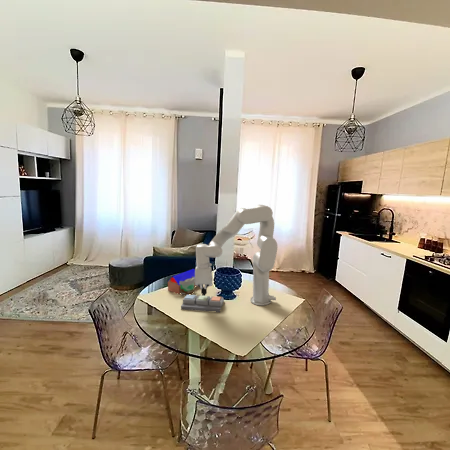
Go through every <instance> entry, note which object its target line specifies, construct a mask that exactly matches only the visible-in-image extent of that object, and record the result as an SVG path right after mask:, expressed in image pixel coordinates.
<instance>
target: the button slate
mask: <svg viewBox="0 0 450 450" xmlns="http://www.w3.org/2000/svg"><path fill="white" fill-rule="evenodd" d="M195 295H196V294H192V295H187V296H186V297H185V296H184V297H185V299H190V300H194V298H195Z"/></svg>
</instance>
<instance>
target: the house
mask: <svg viewBox="0 0 450 450" xmlns="http://www.w3.org/2000/svg"><path fill="white" fill-rule="evenodd" d="M192 276H193V277H194V278H195V268H192V269H189V270H186V271H184V272H180V273H178V274H175V275H172V276H170V278H169V279H168V280H167V291H169V292H172V293H174V292H175V294H177V293H178V294H177V295H181V294H180V293H181V287H180V284H179V283H180V281H184V280H186V279H190V278H192ZM195 286H196V285H195V282H194V287H195ZM195 288H196V287H195Z"/></svg>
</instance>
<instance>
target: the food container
mask: <svg viewBox="0 0 450 450" xmlns="http://www.w3.org/2000/svg"><path fill="white" fill-rule="evenodd" d="M194 282H195V278H194V277H193V276H192V278H190V279H186V280H184V281H180V283H179V284H180V287H181V294H182V295H181V294H180V295H181V296H184V295H189V294H192V293H193V292H194V293H195V288H194ZM194 293H193V294H194ZM193 294H192V295H193Z"/></svg>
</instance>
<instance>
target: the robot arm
mask: <svg viewBox="0 0 450 450" xmlns="http://www.w3.org/2000/svg"><path fill="white" fill-rule="evenodd" d="M257 223H259V230H258V236H257V242H256V244H257V247H258V248H259V249H260V250H258V251H255V253H254V254H253V256H252V268H253V273H252V276H253V277H252V282H253V283H252V296H251V297H250V303H252V304H253V305H256V306H267V305H270V304H271V302H272V301H276V299H277V297H276V296H274V295H270V293H269V291H270V290H269V288H270V287H269V286H270V283H269V282H270V281H269V280H270V279H269V278H270V271H271V270H273V268H274V266H275V263H276V258H277V252H278V243H277V239H275V238H274V231H275V219H274V217H273V209H272V208H271V207H269V206H268V205H265V204H257V205H255V207H253V208H244V207H241V208H238V209H237V210H236V211H235V213H234V214H233V215H232V216H231V217H230V219H229V220H228V222H226V223H225V225H224V226H223V227H222V229H220V230H219V231H218V233H216V235H214V237H213V238H212V239H211V241H210V242H209V243H208V244H206V243H199V244H197V245H196V246H195V258H196V260H195V261H196V262H195V263H196V266H195V268H194V270H195V285H196V286H197V287H198V288H200V293H201V296H207V293H208V292H207V289H208V288H209V287H212V286H214V285H213V272H212V271H213V270H212V267H211V266H212V263H210V258H219V257H221V256H222V254H223V248H222V247H223V246H224V244H225V243H227V242H228V241H229V240H230V239H232V238H235V236H237V235H238V233H239V232H240V231H241V230H242V228H244V226H245V225H251V224H257Z"/></svg>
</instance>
